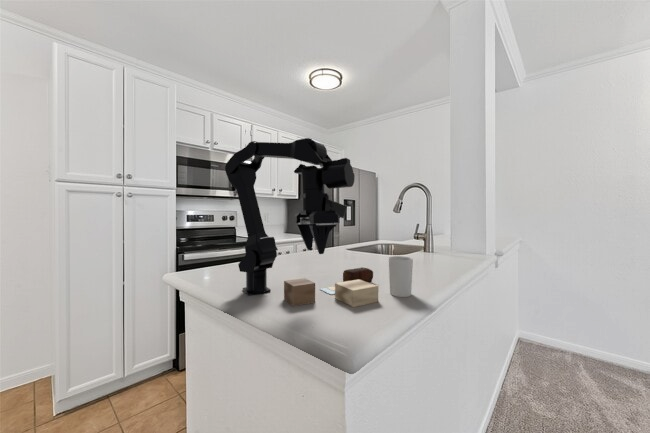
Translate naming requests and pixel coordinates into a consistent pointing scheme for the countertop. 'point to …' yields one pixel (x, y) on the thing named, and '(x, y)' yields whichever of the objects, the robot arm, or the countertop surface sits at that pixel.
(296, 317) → the countertop surface
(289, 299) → the walnut block
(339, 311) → the countertop surface
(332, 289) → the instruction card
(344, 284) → the base block
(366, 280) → the brick
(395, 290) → the drinking glass
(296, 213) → the robot arm
